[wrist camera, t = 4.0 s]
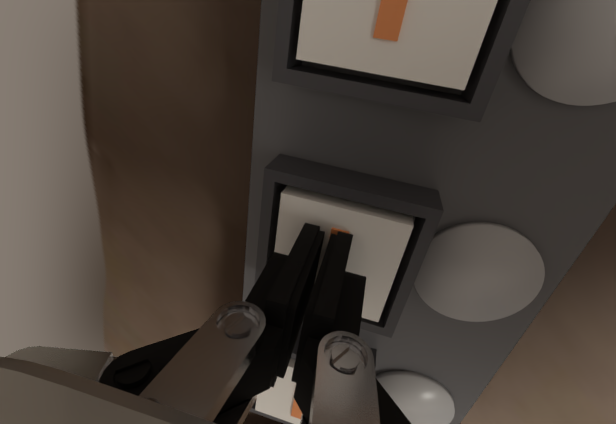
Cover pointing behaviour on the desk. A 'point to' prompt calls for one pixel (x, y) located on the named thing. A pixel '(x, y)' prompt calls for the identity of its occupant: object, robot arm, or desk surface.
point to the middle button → (365, 243)
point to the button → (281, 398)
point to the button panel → (449, 183)
